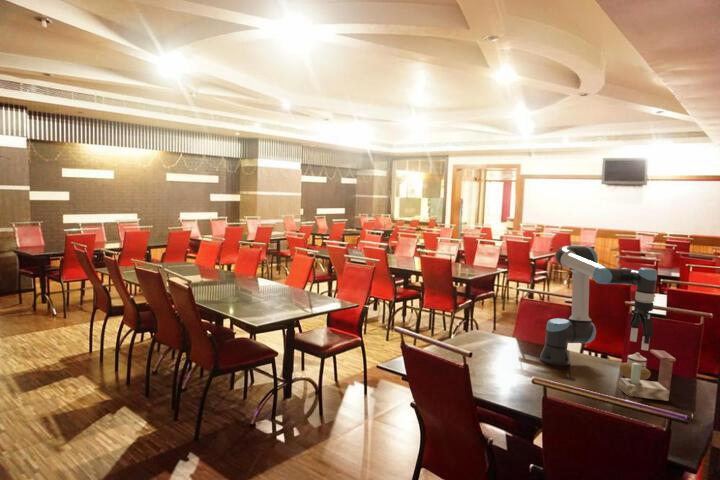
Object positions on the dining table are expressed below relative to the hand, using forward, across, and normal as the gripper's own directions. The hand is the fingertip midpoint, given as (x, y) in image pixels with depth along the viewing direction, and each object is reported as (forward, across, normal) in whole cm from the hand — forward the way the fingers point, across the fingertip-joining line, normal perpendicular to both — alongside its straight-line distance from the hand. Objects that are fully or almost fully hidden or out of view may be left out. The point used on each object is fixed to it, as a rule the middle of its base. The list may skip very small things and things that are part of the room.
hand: (638, 345), depth 224 cm
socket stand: (+23, 0, -4) cm, 23 cm away
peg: (+23, 0, 0) cm, 23 cm away
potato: (+23, +18, -7) cm, 31 cm away
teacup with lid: (+23, +30, -12) cm, 40 cm away
